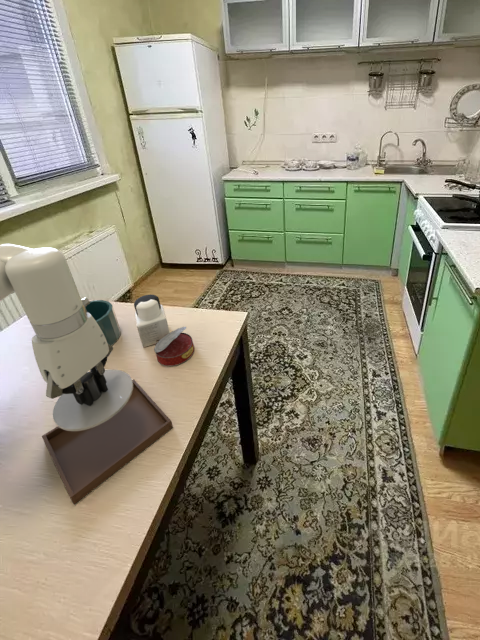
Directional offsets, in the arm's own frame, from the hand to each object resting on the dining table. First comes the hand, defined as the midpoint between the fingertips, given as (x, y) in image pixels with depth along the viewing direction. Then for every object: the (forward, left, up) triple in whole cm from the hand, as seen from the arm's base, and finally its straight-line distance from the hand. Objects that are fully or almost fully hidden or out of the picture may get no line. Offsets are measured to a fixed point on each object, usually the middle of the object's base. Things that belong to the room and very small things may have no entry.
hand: (93, 395), depth 62 cm
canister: (+10, +34, -12) cm, 37 cm away
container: (+22, +22, -12) cm, 33 cm away
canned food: (+22, +11, -12) cm, 27 cm away
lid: (0, 0, -1) cm, 1 cm away
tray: (0, 0, -12) cm, 12 cm away
